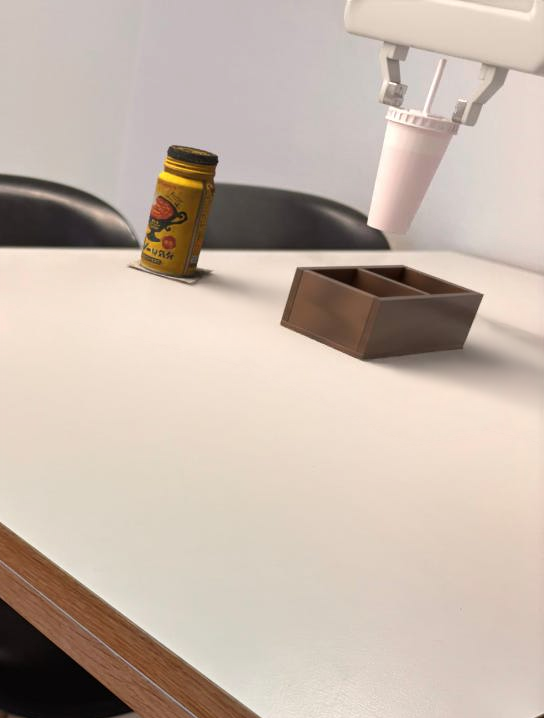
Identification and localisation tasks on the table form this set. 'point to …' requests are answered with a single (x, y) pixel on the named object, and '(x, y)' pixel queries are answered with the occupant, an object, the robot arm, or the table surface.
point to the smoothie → (409, 162)
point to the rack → (379, 310)
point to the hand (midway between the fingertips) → (424, 114)
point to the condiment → (179, 215)
